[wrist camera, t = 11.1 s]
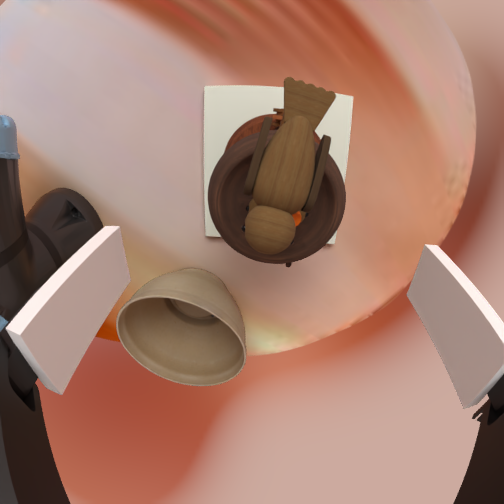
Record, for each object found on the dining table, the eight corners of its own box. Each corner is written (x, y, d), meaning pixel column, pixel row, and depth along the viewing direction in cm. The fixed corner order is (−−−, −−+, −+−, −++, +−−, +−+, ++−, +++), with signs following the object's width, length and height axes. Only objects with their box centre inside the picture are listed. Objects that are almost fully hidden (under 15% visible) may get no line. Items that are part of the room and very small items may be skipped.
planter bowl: (135, 246, 36) (97, 292, 26) (249, 244, 35) (240, 298, 25) (160, 329, 44) (139, 379, 34) (254, 334, 42) (249, 390, 33)
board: (206, 233, 34) (205, 235, 33) (206, 86, 25) (204, 86, 25) (333, 241, 33) (334, 244, 33) (351, 96, 25) (353, 96, 24)
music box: (217, 103, 26) (163, 79, 8) (319, 100, 26) (432, 88, 8) (228, 231, 33) (212, 369, 15) (318, 226, 33) (385, 351, 15)
